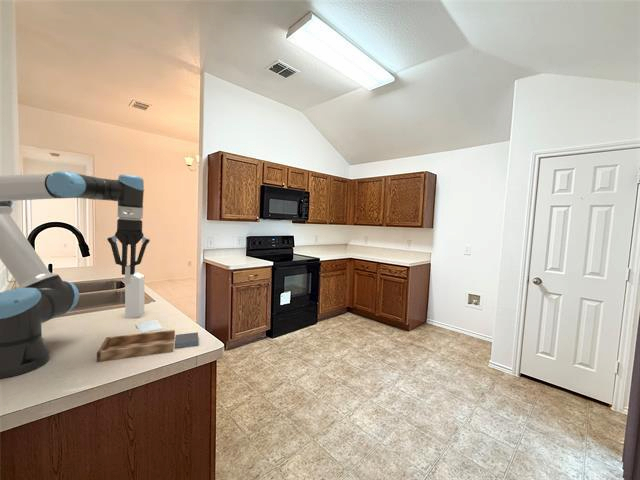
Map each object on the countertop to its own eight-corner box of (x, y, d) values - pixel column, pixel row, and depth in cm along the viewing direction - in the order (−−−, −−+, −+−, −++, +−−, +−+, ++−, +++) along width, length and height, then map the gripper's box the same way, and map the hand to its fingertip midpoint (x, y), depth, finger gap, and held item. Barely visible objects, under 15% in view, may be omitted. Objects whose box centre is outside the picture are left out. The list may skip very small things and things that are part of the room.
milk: (144, 313, 137) (145, 269, 135) (139, 318, 131) (139, 271, 129) (130, 313, 136) (130, 268, 134) (124, 318, 130) (125, 271, 128)
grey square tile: (174, 350, 103) (174, 343, 102) (175, 340, 110) (175, 334, 110) (198, 346, 106) (198, 340, 106) (197, 337, 113) (197, 332, 113)
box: (96, 364, 91) (96, 352, 91) (106, 347, 102) (106, 337, 102) (173, 353, 101) (173, 342, 100) (174, 339, 111) (174, 329, 111)
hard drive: (135, 323, 122) (141, 332, 113) (156, 319, 128) (164, 328, 119) (135, 327, 123) (141, 336, 114) (156, 322, 128) (164, 331, 119)
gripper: (104, 217, 95) (103, 286, 97) (149, 220, 100) (147, 285, 102) (110, 217, 101) (108, 281, 103) (152, 220, 107) (149, 280, 109)
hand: (127, 283), depth 103 cm, fingers closed
